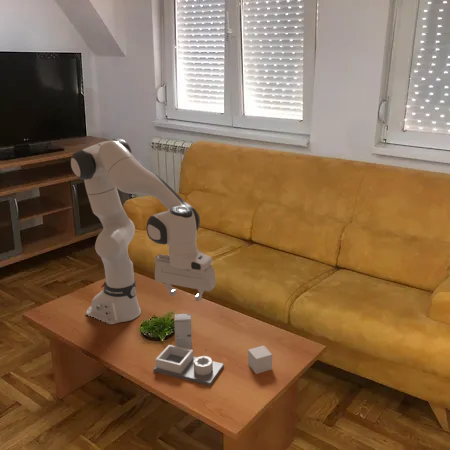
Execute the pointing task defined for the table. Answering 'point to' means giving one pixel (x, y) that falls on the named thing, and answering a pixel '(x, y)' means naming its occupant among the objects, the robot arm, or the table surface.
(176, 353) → the socket holder
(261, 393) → the table surface
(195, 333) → the table surface
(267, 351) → the light grey cube
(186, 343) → the skincare box
